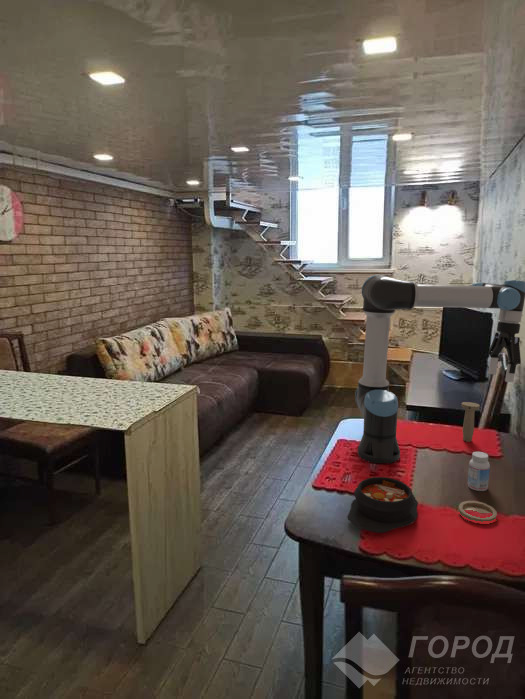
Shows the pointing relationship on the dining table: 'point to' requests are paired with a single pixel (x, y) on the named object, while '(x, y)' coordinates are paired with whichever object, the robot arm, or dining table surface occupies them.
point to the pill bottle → (478, 471)
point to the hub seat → (479, 508)
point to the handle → (469, 420)
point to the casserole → (382, 505)
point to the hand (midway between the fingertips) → (500, 377)
